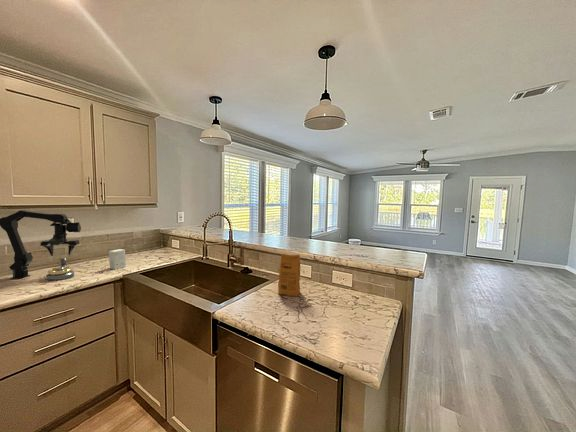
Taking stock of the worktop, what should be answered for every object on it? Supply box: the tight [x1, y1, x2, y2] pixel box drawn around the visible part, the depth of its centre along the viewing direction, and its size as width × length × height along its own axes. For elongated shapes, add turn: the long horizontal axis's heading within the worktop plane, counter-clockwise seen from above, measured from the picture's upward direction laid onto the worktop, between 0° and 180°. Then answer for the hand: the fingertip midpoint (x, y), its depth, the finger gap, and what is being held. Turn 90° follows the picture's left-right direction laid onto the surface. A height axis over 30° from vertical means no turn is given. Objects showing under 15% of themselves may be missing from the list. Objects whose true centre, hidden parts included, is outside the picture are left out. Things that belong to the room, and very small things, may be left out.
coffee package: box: [277, 253, 301, 297], centre depth 134 cm, size 10×12×22 cm
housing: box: [45, 270, 75, 282], centre depth 157 cm, size 15×18×3 cm
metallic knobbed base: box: [47, 257, 73, 276], centre depth 157 cm, size 18×11×7 cm, turn 34°
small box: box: [108, 248, 127, 270], centre depth 179 cm, size 8×6×13 cm
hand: (60, 255), depth 162 cm, fingers open, 9 cm apart
